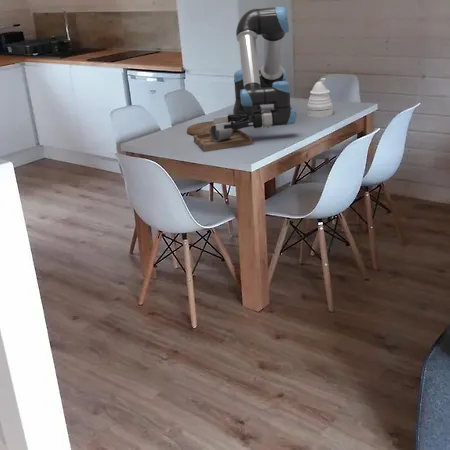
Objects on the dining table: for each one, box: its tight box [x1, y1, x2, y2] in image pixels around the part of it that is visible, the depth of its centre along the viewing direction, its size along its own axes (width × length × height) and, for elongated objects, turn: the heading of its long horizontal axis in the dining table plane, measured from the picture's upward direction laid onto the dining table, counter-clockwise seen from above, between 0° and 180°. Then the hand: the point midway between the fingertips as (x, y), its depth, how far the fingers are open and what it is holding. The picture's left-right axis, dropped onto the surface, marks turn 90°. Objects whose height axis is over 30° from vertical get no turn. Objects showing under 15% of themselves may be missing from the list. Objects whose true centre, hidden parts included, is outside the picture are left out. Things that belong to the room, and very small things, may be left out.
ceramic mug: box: [210, 125, 233, 142], centre depth 287 cm, size 11×8×8 cm
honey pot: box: [306, 77, 334, 118], centre depth 319 cm, size 13×13×18 cm
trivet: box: [186, 120, 234, 137], centre depth 311 cm, size 25×25×2 cm
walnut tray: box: [193, 129, 253, 153], centre depth 287 cm, size 20×22×3 cm
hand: (214, 123), depth 284 cm, fingers open, 13 cm apart
